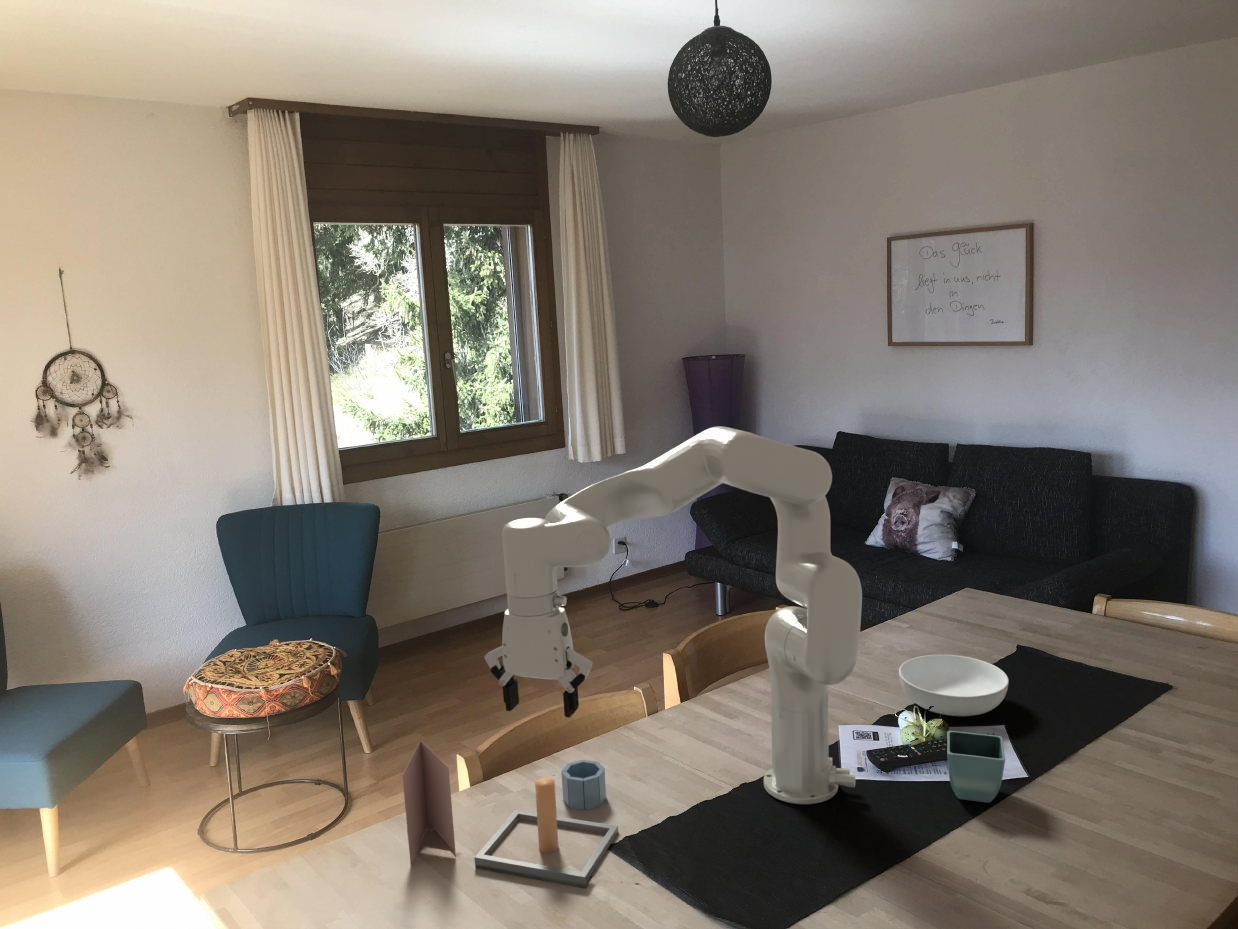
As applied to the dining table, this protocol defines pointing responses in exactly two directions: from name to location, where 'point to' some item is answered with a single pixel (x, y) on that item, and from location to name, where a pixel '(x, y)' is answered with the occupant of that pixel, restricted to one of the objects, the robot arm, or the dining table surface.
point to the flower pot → (975, 765)
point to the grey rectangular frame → (543, 871)
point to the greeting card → (427, 798)
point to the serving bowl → (953, 684)
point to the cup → (583, 784)
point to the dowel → (546, 814)
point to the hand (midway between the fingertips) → (541, 710)
